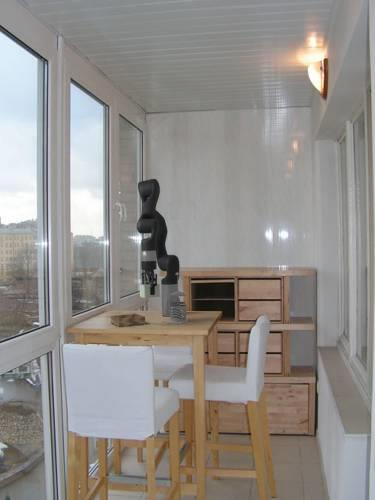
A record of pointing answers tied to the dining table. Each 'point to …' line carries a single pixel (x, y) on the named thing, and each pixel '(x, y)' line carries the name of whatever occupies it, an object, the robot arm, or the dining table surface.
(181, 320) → the french press
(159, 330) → the dining table surface
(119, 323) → the brown flat block
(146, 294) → the small crate
